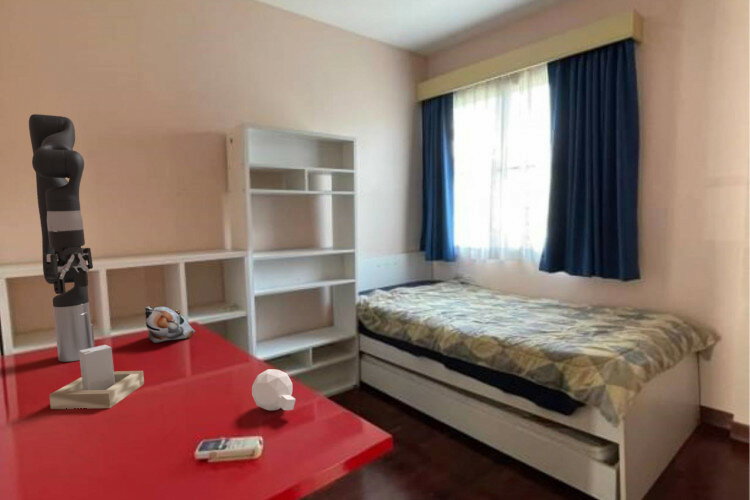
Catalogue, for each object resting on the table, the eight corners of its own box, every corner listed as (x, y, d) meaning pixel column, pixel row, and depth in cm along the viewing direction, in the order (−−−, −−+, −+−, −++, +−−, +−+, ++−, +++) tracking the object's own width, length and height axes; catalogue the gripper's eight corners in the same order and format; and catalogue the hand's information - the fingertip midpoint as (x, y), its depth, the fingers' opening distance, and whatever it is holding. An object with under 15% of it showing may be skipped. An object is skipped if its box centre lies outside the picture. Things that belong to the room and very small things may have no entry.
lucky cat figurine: (203, 335, 157) (193, 302, 148) (171, 359, 148) (159, 326, 139) (173, 318, 164) (162, 286, 155) (141, 340, 155) (128, 307, 146)
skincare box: (110, 389, 110) (106, 343, 108) (116, 393, 107) (112, 346, 106) (82, 398, 105) (77, 349, 104) (88, 402, 102) (83, 353, 101)
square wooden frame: (91, 384, 113) (90, 372, 113) (144, 383, 113) (143, 370, 112) (50, 409, 99) (49, 394, 99) (110, 408, 99) (108, 393, 98)
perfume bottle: (239, 401, 96) (266, 426, 87) (251, 361, 96) (279, 382, 88) (272, 400, 102) (300, 423, 93) (283, 363, 102) (312, 382, 94)
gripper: (71, 226, 118) (77, 284, 120) (29, 231, 104) (36, 296, 106) (98, 226, 118) (103, 284, 120) (59, 230, 104) (66, 296, 106)
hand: (72, 289), depth 113 cm, fingers open, 8 cm apart
